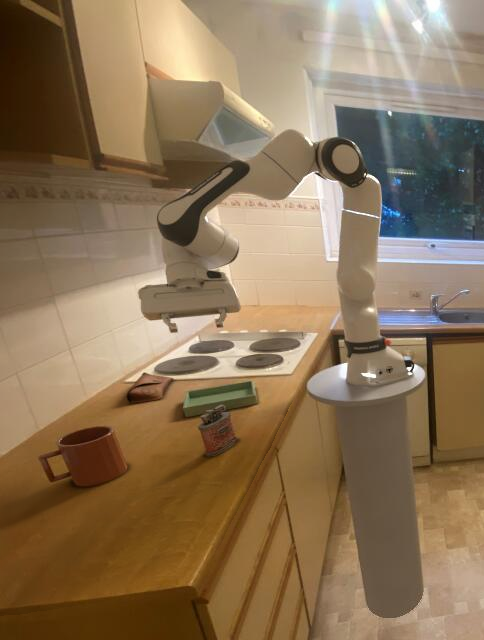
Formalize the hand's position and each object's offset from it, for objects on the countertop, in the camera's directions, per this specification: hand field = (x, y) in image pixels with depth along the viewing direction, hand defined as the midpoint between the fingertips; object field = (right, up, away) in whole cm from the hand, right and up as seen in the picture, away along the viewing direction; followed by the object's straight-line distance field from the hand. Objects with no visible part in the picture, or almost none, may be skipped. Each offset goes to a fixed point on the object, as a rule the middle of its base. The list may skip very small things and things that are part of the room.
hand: (197, 329), depth 107 cm
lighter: (+8, -29, -3) cm, 30 cm away
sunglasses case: (-34, -16, +27) cm, 46 cm away
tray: (-7, -19, +20) cm, 29 cm away
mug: (-11, -33, -15) cm, 38 cm away
